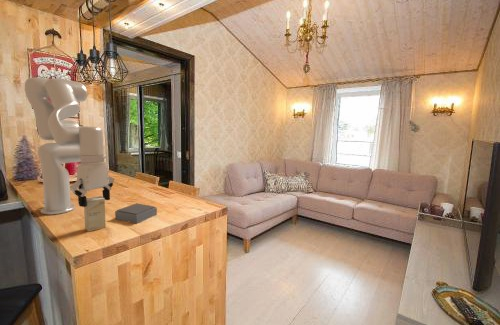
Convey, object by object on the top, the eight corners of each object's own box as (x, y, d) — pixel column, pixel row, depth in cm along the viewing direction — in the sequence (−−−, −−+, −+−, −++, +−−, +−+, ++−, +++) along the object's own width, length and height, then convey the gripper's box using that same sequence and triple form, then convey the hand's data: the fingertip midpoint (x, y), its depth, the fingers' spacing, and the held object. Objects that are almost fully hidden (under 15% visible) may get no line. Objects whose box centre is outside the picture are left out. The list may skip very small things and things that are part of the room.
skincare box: (88, 232, 91) (86, 201, 89) (84, 228, 94) (83, 198, 92) (106, 227, 96) (105, 198, 94) (102, 224, 98) (101, 195, 97)
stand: (115, 219, 104) (115, 210, 104) (136, 210, 116) (136, 202, 115) (136, 223, 100) (136, 214, 100) (156, 214, 112) (156, 206, 111)
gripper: (105, 156, 100) (107, 196, 102) (61, 161, 84) (65, 208, 86) (119, 157, 98) (121, 198, 100) (76, 162, 82) (79, 210, 84)
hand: (95, 202), depth 93 cm, fingers open, 9 cm apart
